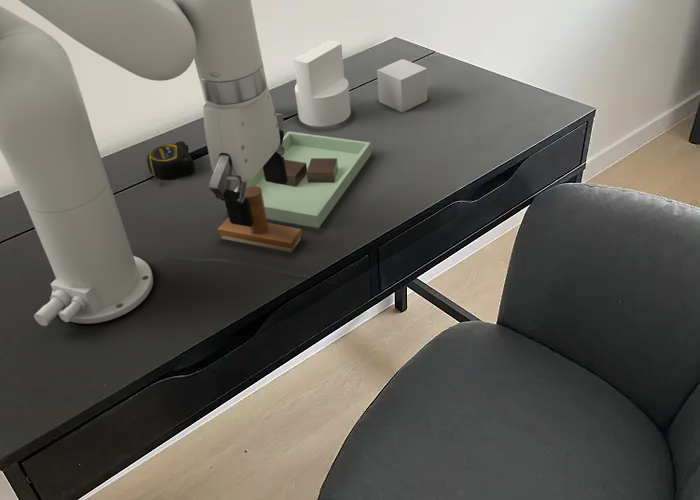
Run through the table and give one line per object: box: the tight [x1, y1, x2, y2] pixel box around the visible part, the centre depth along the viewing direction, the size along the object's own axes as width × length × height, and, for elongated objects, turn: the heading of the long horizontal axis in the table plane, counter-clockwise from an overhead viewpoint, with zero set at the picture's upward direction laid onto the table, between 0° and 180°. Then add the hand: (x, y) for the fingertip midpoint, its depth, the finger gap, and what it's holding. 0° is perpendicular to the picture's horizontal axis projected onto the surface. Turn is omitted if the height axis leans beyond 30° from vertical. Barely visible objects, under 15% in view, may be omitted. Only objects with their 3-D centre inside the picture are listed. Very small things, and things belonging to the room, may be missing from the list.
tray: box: [233, 131, 372, 229], centre depth 111 cm, size 20×14×3 cm
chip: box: [307, 158, 338, 183], centre depth 112 cm, size 4×4×2 cm
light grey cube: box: [376, 58, 428, 113], centre depth 129 cm, size 6×6×6 cm
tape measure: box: [146, 140, 196, 181], centre depth 117 cm, size 7×7×4 cm
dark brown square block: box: [272, 160, 307, 187], centre depth 112 cm, size 4×4×2 cm
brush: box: [217, 186, 303, 253], centre depth 99 cm, size 3×11×8 cm, turn 67°
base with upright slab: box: [293, 39, 352, 128], centre depth 125 cm, size 9×9×12 cm
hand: (260, 202), depth 98 cm, fingers open, 9 cm apart
